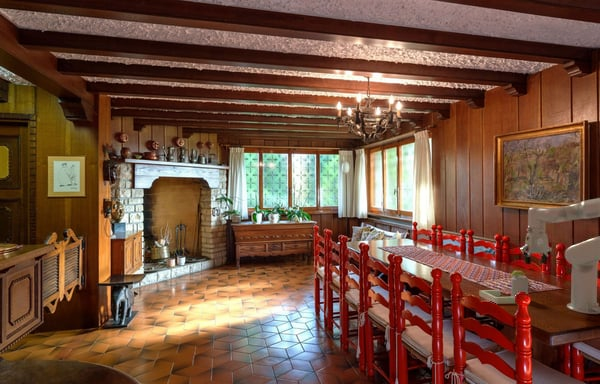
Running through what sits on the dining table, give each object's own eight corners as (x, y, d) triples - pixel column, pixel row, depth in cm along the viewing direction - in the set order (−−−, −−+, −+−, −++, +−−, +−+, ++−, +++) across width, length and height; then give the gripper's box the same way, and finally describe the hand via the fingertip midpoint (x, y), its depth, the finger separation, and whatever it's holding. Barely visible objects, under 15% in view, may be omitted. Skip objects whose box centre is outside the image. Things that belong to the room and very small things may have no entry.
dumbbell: (529, 289, 203) (529, 277, 203) (513, 287, 206) (513, 275, 206) (525, 282, 217) (525, 270, 217) (510, 281, 221) (510, 269, 221)
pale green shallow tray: (515, 303, 178) (515, 297, 178) (494, 303, 177) (494, 297, 177) (498, 295, 191) (498, 289, 191) (479, 295, 190) (479, 290, 190)
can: (512, 295, 190) (512, 273, 190) (528, 298, 186) (529, 275, 186) (509, 299, 185) (510, 276, 184) (526, 302, 180) (527, 278, 180)
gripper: (526, 232, 181) (525, 265, 181) (557, 231, 183) (557, 265, 183) (515, 230, 189) (515, 262, 189) (546, 230, 190) (545, 262, 190)
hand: (536, 263), depth 186 cm, fingers open, 8 cm apart
